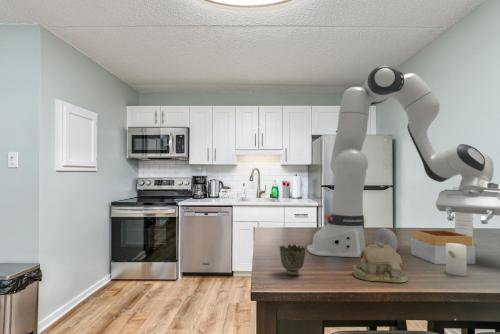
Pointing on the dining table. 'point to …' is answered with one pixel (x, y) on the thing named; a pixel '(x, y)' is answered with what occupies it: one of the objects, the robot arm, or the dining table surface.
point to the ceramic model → (380, 264)
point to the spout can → (456, 259)
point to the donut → (388, 235)
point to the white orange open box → (439, 245)
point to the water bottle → (464, 222)
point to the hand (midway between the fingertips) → (466, 221)
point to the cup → (292, 258)
